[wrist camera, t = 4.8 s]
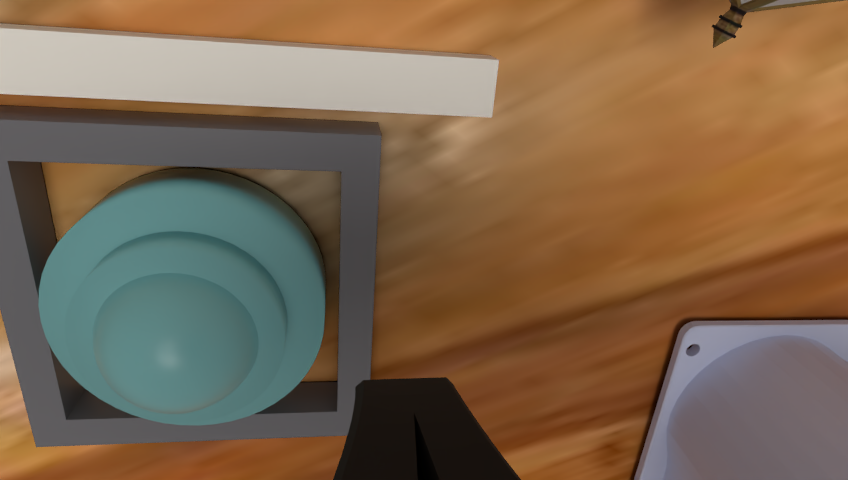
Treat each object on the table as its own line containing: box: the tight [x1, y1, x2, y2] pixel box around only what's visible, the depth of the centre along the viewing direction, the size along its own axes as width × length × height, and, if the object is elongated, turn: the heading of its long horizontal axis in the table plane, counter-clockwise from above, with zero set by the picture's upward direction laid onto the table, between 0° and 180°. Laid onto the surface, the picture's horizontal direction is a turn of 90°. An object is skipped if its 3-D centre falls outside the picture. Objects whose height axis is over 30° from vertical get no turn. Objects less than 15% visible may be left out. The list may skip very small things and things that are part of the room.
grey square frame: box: [0, 105, 381, 447], centre depth 17 cm, size 10×10×2 cm
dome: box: [38, 168, 326, 426], centre depth 15 cm, size 7×7×5 cm
